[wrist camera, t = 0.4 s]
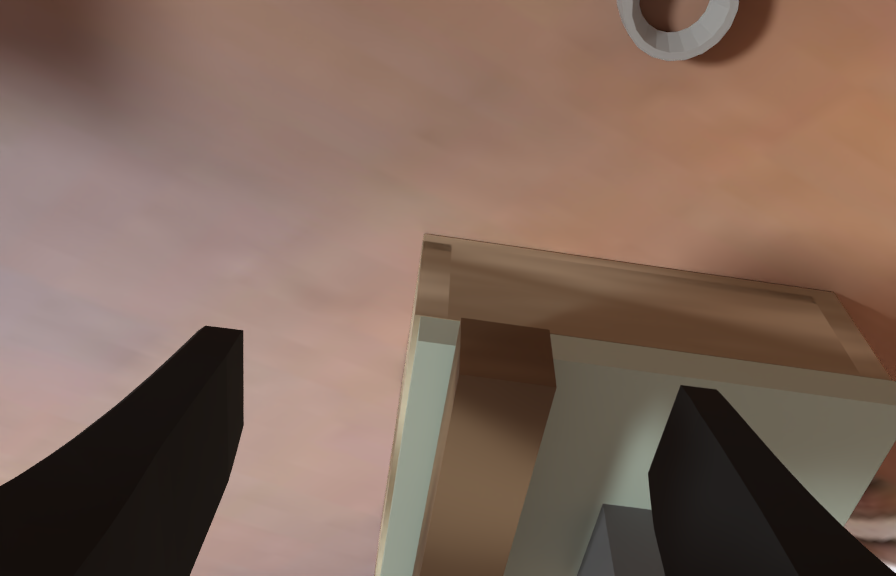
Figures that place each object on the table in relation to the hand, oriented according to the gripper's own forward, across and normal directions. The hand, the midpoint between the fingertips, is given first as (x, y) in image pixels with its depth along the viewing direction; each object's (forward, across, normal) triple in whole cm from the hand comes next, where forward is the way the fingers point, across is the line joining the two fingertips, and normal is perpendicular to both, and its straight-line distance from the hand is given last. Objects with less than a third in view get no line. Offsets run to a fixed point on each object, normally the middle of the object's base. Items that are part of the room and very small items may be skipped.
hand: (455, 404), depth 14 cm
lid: (+7, -5, +8) cm, 12 cm away
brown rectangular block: (+5, -1, +8) cm, 10 cm away
